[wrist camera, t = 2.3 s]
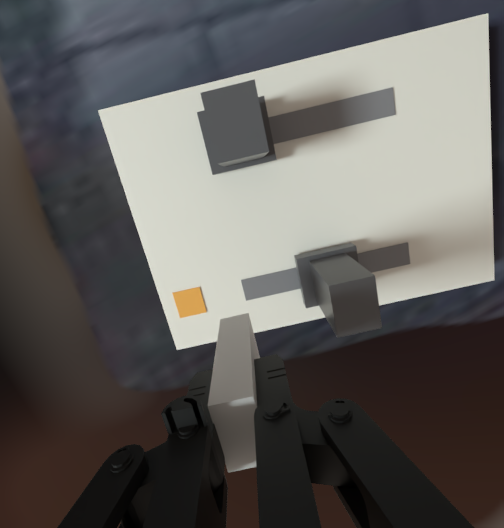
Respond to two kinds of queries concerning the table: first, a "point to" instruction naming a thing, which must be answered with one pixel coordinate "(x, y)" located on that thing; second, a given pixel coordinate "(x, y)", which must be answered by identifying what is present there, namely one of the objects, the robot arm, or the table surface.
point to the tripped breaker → (339, 288)
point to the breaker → (236, 128)
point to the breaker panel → (319, 180)
